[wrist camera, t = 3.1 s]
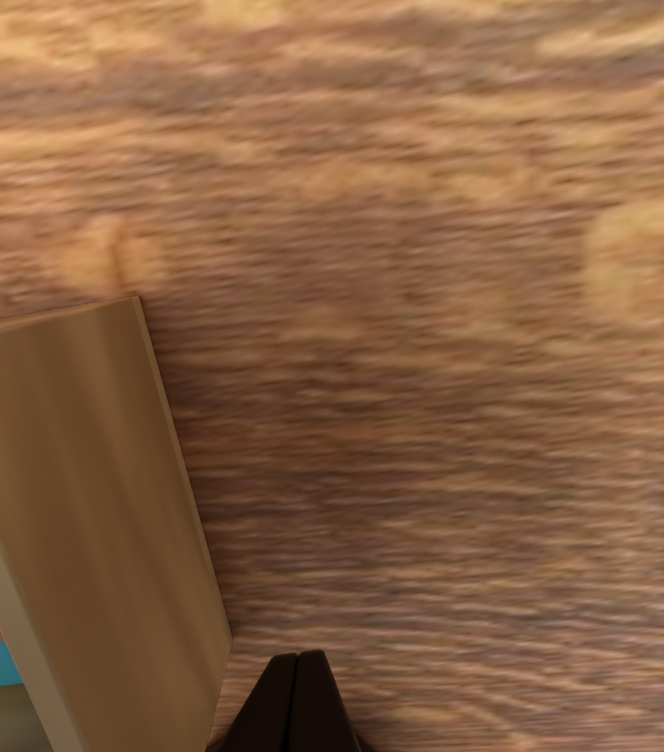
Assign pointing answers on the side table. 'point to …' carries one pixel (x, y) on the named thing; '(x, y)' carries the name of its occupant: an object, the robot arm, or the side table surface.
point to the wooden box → (100, 544)
